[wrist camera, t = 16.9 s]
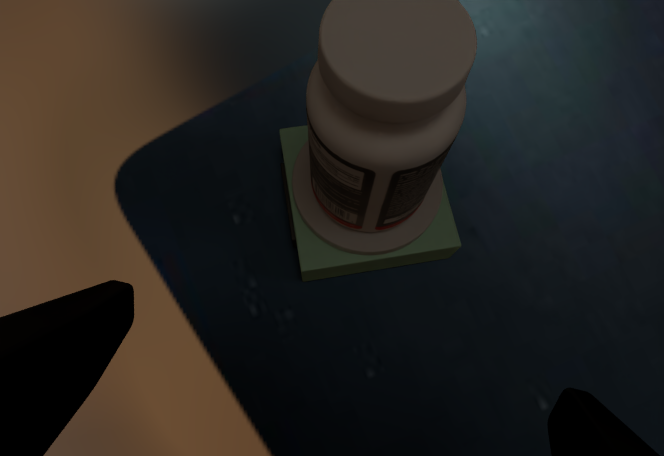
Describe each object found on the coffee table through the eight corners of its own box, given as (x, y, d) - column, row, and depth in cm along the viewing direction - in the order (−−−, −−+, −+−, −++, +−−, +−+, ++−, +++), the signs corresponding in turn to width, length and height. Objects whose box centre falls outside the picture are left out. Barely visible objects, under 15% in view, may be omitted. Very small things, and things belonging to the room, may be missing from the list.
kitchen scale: (298, 282, 23) (296, 269, 21) (278, 149, 26) (274, 122, 23) (449, 258, 24) (465, 242, 21) (415, 130, 27) (425, 102, 24)
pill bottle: (418, 131, 23) (483, -39, 14) (430, 234, 22) (515, 115, 12) (308, 133, 23) (301, -39, 14) (311, 237, 21) (304, 119, 12)
